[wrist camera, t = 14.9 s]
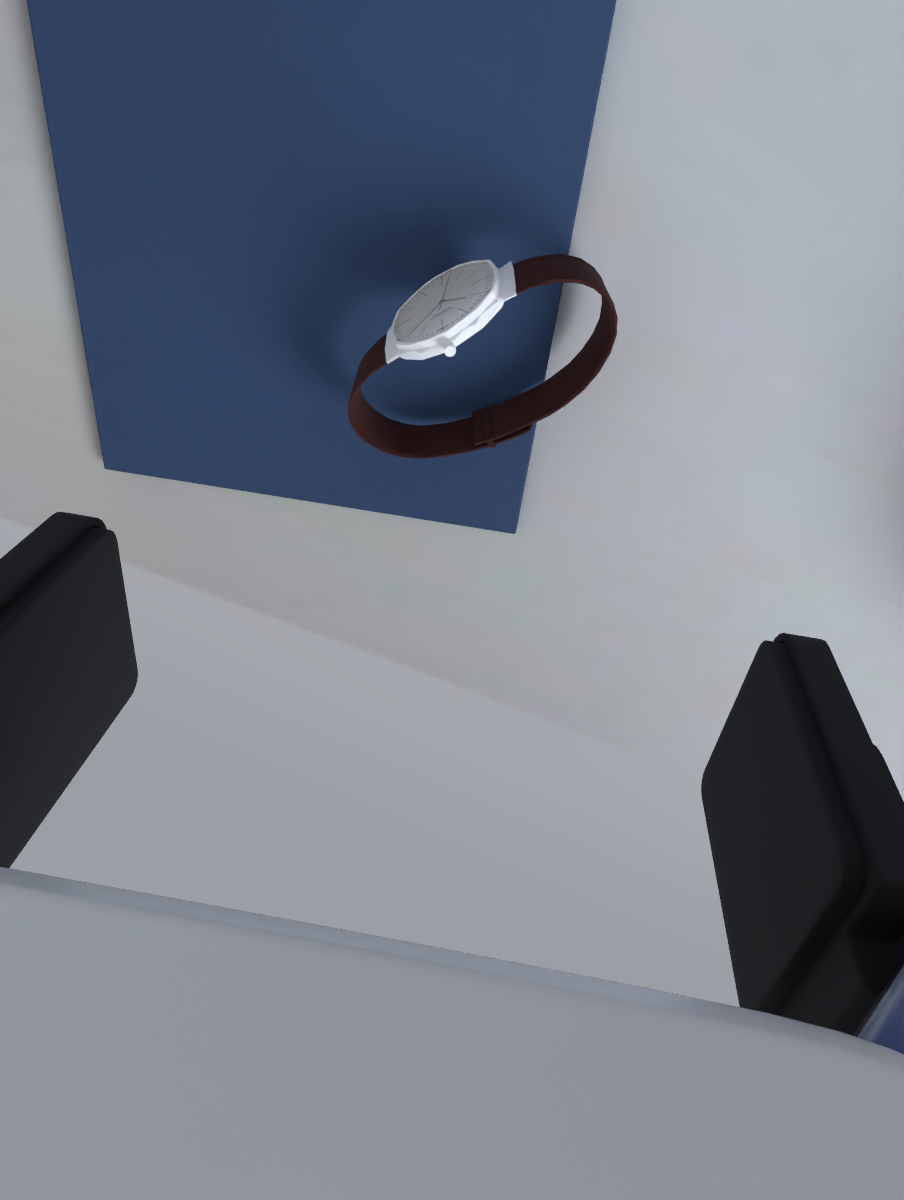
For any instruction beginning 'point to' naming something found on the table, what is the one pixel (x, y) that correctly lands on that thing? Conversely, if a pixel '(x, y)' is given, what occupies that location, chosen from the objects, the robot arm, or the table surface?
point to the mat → (312, 227)
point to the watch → (452, 317)
